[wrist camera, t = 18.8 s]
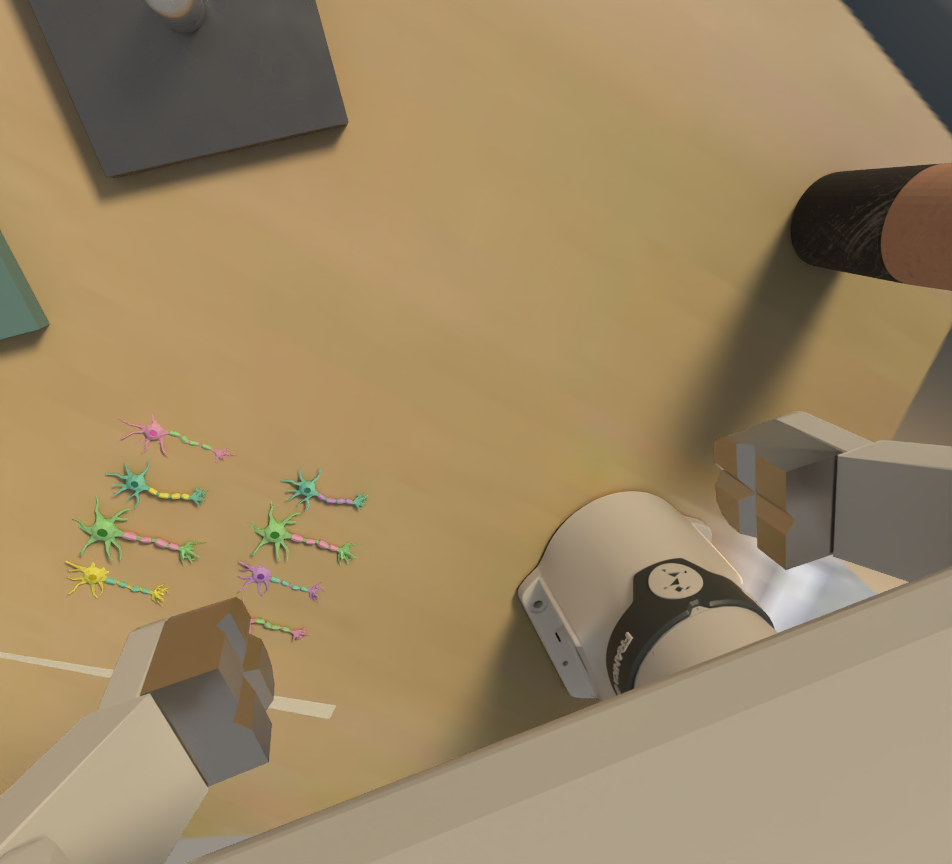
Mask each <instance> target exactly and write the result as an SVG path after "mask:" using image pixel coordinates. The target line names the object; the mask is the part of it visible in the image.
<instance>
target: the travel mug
mask: <svg viewBox="0 0 952 864" xmlns="http://www.w3.org/2000/svg"><path fill="white" fill-rule="evenodd" d="M791 236H792V242H793V246H794V248H795V250H796V252H797V254H798V255H799V257H800V258H801V259H802V260H804V261H805V262H807V263H808V264H811V265H814V266H818V267H823V268H827V269H832V270H837V271H842V272H847V273H852V274H858V275H863V276H868V277H873V278H878V279H883V280H888V281H894V282H899V283H904V284H909V285H916V286H923V287H930V288H937V289H944V290H950V291H952V163H945V164H931V165H918V166H905V167H892V168H880V169H867V170H854V171H843V172H836V173H831V174H829V175H826V176H824V177H822V178H820V179H819V180H817V181H816V182H815V183H813V184H812V185H811V186H810V187H809V188H808V189H807V191H806V192H805V193H804V194H803V196H802V197H801V199H800V201H799V203H798V205H797V207H796V209H795V212H794V215H793V220H792V226H791Z"/></svg>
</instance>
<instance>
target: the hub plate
mask: <svg viewBox="0 0 952 864" xmlns="http://www.w3.org/2000/svg"><path fill="white" fill-rule="evenodd" d="M47 325H49V322H48V320H47V318H46V316H45V314H44V312H43V311H42V309H41V307H40V305H39V303H38V301H37V299H36V297H35V295H34V294H33V292H32V290H31V288H30V286H29V284H28V282H27V280H26V278H25V276H24V275H23V273H22V271H21V269H20V267H19V265H18V263H17V261H16V259H15V257H14V256H13V254H12V252H11V250H10V248H9V246H8V244H7V242H6V240H5V239H4V237H3V235H2V233H1V231H0V339H4V338H8V337H12V336H16V335H19V334H23V333H27V332H31V331H35V330H39V329H41V328H43V327H45V326H47Z"/></svg>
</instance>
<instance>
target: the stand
mask: <svg viewBox="0 0 952 864" xmlns="http://www.w3.org/2000/svg"><path fill="white" fill-rule="evenodd" d="M28 1H29V3H30V5H31V8H32V10H33V12H34V14H35V17H36V19H37V21H38V23H39V26H40V28H41V30H42V32H43V35H44V37H45V39H46V42H47V44H48V46H49V48H50V51H51V53H52V55H53V57H54V60H55V62H56V64H57V67H58V69H59V71H60V73H61V76H62V78H63V80H64V82H65V85H66V87H67V89H68V92H69V94H70V96H71V98H72V101H73V103H74V105H75V107H76V110H77V112H78V114H79V117H80V119H81V121H82V123H83V126H84V128H85V130H86V132H87V135H88V137H89V139H90V142H91V144H92V146H93V148H94V151H95V153H96V155H97V157H98V160H99V162H100V164H101V166H102V169H103V171H104V173H105V176H106V177H111V178H115V177H119V176H124V175H128V174H133V173H137V172H141V171H146V170H150V169H155V168H159V167H163V166H168V165H172V164H177V163H181V162H185V161H190V160H194V159H199V158H203V157H207V156H212V155H216V154H221V153H225V152H230V151H234V150H238V149H243V148H247V147H252V146H256V145H260V144H265V143H269V142H274V141H278V140H282V139H287V138H291V137H296V136H300V135H305V134H309V133H313V132H318V131H322V130H327V129H331V128H335V127H340V126H344V125H347V124H348V118H347V115H346V111H345V107H344V104H343V100H342V97H341V93H340V89H339V86H338V82H337V78H336V75H335V71H334V67H333V64H332V60H331V56H330V53H329V49H328V45H327V42H326V38H325V34H324V31H323V27H322V23H321V20H320V16H319V12H318V9H317V5H316V1H315V0H28Z"/></svg>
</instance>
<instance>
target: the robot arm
mask: <svg viewBox="0 0 952 864" xmlns="http://www.w3.org/2000/svg"><path fill="white" fill-rule="evenodd" d="M713 456H714V463H715V464H716V465H717V466H718V467H719V468H720V469H721V470H722V472H721V474H720V476H719V478H718V480H717V481H716V483H715V490H716V500H717V503H718V505H719V508H720V510H721V513H722V515H723V517H724V518H725V519H726V521H727V522H728V523H729V525H730V526H731V527H733V528H734V529H735V530H736V531H737V532H739V533H740V534H744V535H748V536H752V537H756V538H757V547H758V548H759V549H760V550H761V551H762V552H764V553H765V554H766V555H767V556H769V557H770V558H771V559H773V560H774V561H775V562H776V563H778V564H779V565H780V566H781V567H783V568H784V569H785V570H787V569H790V568H793V567H796V566H799V565H802V564H805V563H808V562H811V561H814V560H817V559H820V558H823V557H826V556H829V555H832V554H833V556H834V557H837V558H840V559H843V560H846V561H849V562H852V563H855V564H857V565H860V566H863V567H867V568H869V569H872V570H876V571H878V572H881V573H884V574H887V575H890V576H893V577H896V578H899V579H903V580H906V581H908V582H909V583H906V584H903V585H901V586H898V587H896V588H893V589H891V590H888V591H885V592H883V593H880V594H878V595H875V596H872V597H870V598H867V599H865V600H862V601H859V602H857V603H854V604H852V605H849V606H846V607H844V608H841V609H839V610H836V611H834V612H831V613H828V614H826V615H823V616H821V617H818V618H815V619H813V620H810V621H808V622H805V623H803V624H800V625H797V626H795V627H792V628H790V629H787V630H784V631H782V632H779V633H778V632H777V631H776V630H775V629H774V626H773V623H772V621H771V620H770V618H769V617H768V615H767V614H766V613H765V612H764V611H763V610H762V609H761V607H760V605H759V604H758V603H757V602H756V601H755V600H754V599H753V598H752V597H751V596H750V595H749V594H748V593H747V592H746V591H744V590H742V585H743V580H742V578H741V576H740V575H739V573H738V572H737V571H736V570H735V569H734V568H733V567H732V566H731V565H730V563H729V562H728V561H727V560H726V559H725V558H724V557H723V556H722V555H721V554H720V552H719V551H718V550H717V549H716V548H715V547H714V546H713V545H712V544H711V538H712V532H711V529H710V528H709V527H708V526H707V525H706V524H705V523H704V522H703V521H701V520H699V519H696V518H692V517H687V516H683V515H682V514H680V513H679V512H678V511H677V510H676V509H675V508H674V507H672V506H671V505H670V504H669V503H668V502H667V501H665V500H664V499H662V498H660V497H658V496H655V495H653V494H649V493H645V492H637V491H627V492H619V493H614V494H610V495H607V496H604V497H601V498H599V499H597V500H594V501H592V502H591V503H589V504H587V505H585V506H584V507H582V508H581V509H579V510H578V511H577V512H575V513H574V514H573V515H572V516H571V517H569V518H568V519H567V520H566V521H565V522H564V523H563V524H562V526H561V527H560V528H559V529H558V530H557V532H556V533H555V535H554V536H553V538H552V539H551V541H550V543H549V545H548V547H547V549H546V551H545V553H544V556H543V558H542V560H541V562H540V563H539V565H538V567H537V568H536V569H535V570H534V571H533V572H532V573H531V574H530V575H529V576H528V577H527V578H526V579H525V580H524V581H523V582H522V584H521V585H520V587H519V589H518V597H519V599H520V601H521V603H522V605H523V607H524V609H525V611H526V613H527V615H528V617H529V619H530V620H531V622H532V624H533V626H534V628H535V630H536V632H537V634H538V636H539V638H540V640H541V642H542V644H543V645H544V647H545V649H546V651H547V653H548V655H549V657H550V659H551V661H552V663H553V665H554V667H555V669H556V670H557V672H558V674H559V676H560V678H561V680H562V682H563V684H564V686H565V688H566V689H567V690H568V692H569V693H570V695H571V696H572V697H575V698H598V700H599V701H600V702H599V703H597V704H594V705H591V706H589V707H586V708H584V709H581V710H579V711H576V712H574V713H571V714H568V715H566V716H563V717H561V718H558V719H555V720H553V721H550V722H548V723H545V724H543V725H540V726H537V727H535V728H532V729H530V730H527V731H524V732H522V733H519V734H517V735H514V736H512V737H509V738H506V739H504V740H501V741H499V742H496V743H494V744H491V745H488V746H486V747H483V748H481V749H478V750H475V751H473V752H470V753H468V754H465V755H463V756H460V757H457V758H455V759H452V760H450V761H447V762H444V763H442V764H439V765H437V766H434V767H432V768H429V769H426V770H424V771H421V772H419V773H416V774H413V775H411V776H408V777H406V778H403V779H401V780H398V781H395V782H393V783H390V784H388V785H385V786H383V787H380V788H377V789H375V790H372V791H370V792H367V793H364V794H362V795H359V796H357V797H354V798H352V799H349V800H346V801H344V802H341V803H339V804H336V805H333V806H331V807H328V808H326V809H323V810H321V811H318V812H315V813H313V814H310V815H308V816H305V817H303V818H300V819H297V820H295V821H292V822H290V823H287V824H284V825H282V826H279V827H277V828H274V829H272V830H269V831H266V832H264V833H261V834H259V835H256V836H253V837H251V838H248V839H246V840H243V841H241V842H238V843H236V844H233V845H230V846H228V847H225V848H222V849H220V850H217V851H215V852H212V853H210V854H207V855H204V856H202V857H199V858H197V859H194V860H192V861H189V862H186V863H184V864H952V447H951V446H940V445H929V444H919V443H908V442H898V441H888V440H881V441H878V442H875V443H874V442H871V441H869V440H867V439H864V438H862V437H860V436H858V435H855V434H853V433H851V432H849V431H846V430H844V429H842V428H840V427H837V426H835V425H833V424H831V423H828V422H826V421H824V420H821V419H819V418H817V417H815V416H812V415H810V414H808V413H806V412H803V411H792V412H790V413H787V414H784V415H782V416H779V417H776V418H774V419H771V420H768V421H766V422H764V423H761V424H758V425H755V426H752V427H750V428H747V429H744V430H741V431H738V432H736V433H733V434H730V435H727V436H724V437H722V438H719V439H716V441H715V445H714V448H713ZM536 601H539V602H538V603H535V602H536ZM534 603H535V604H534ZM250 621H251V617H250V615H249V613H248V611H247V609H246V607H245V605H244V603H243V602H242V601H241V600H240V599H238V598H237V597H234V598H231V599H227V600H224V601H221V602H218V603H214V604H211V605H208V606H205V607H202V608H198V609H195V610H192V611H189V612H185V613H182V614H179V615H176V616H172V617H170V618H165V619H162V620H159V621H156V622H153V623H150V624H148V625H145V626H142V627H139V628H137V629H135V630H133V631H132V632H130V634H129V636H128V638H127V640H126V643H125V645H124V648H123V650H122V652H121V655H120V657H119V660H118V662H117V664H116V667H115V669H114V671H113V674H112V676H111V679H110V681H109V683H108V686H107V688H106V691H105V693H104V695H103V698H102V700H101V703H100V705H99V707H98V710H97V711H96V712H93V713H90V714H88V715H85V716H84V717H83V718H82V719H81V720H80V721H79V722H78V723H77V724H76V725H75V726H73V727H72V728H71V729H70V730H69V731H68V732H67V733H66V734H65V735H64V736H63V737H62V738H61V739H60V740H59V741H58V742H57V743H56V744H55V745H53V746H52V747H51V748H50V749H49V750H48V751H47V752H46V753H45V754H44V755H43V756H42V757H41V758H40V759H39V760H38V761H37V762H36V763H35V764H34V765H32V766H31V767H30V768H29V769H28V770H27V771H26V772H25V773H24V774H23V775H22V776H21V777H20V778H19V779H18V780H17V781H16V782H15V783H14V784H12V785H11V786H10V787H9V788H8V789H7V790H6V791H5V792H4V793H3V794H2V795H1V796H0V864H164V863H165V861H166V860H167V858H168V856H169V855H170V853H171V851H172V850H173V848H174V846H175V845H176V843H177V841H178V840H179V838H180V837H181V835H182V833H183V832H184V830H185V828H186V827H187V825H188V823H189V822H190V820H191V818H192V817H193V815H194V813H195V812H196V810H197V808H198V807H199V805H200V804H201V802H202V800H203V799H204V797H205V795H206V794H207V792H208V790H209V789H208V786H211V785H213V784H216V783H218V782H221V781H223V780H226V779H228V778H231V777H233V776H236V775H238V774H240V773H243V772H245V771H248V770H250V769H253V768H255V767H258V766H260V765H263V764H265V763H268V762H269V753H270V740H271V728H272V723H271V721H270V719H269V717H268V715H267V713H266V710H267V708H268V707H269V706H270V704H271V703H272V702H273V700H274V678H273V671H272V665H271V662H270V659H269V656H268V653H267V650H266V648H265V646H264V644H263V642H262V639H260V638H258V637H256V636H253V635H251V634H249V628H250Z"/></svg>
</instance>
